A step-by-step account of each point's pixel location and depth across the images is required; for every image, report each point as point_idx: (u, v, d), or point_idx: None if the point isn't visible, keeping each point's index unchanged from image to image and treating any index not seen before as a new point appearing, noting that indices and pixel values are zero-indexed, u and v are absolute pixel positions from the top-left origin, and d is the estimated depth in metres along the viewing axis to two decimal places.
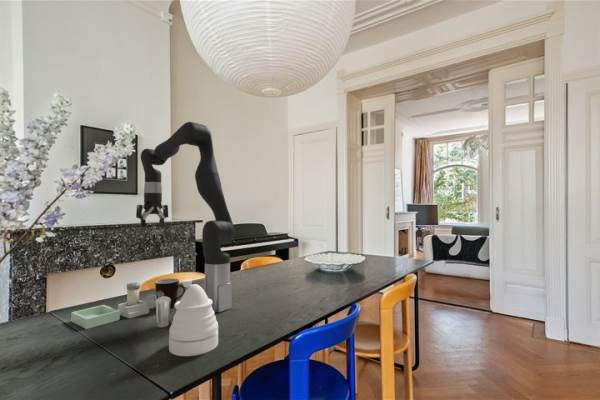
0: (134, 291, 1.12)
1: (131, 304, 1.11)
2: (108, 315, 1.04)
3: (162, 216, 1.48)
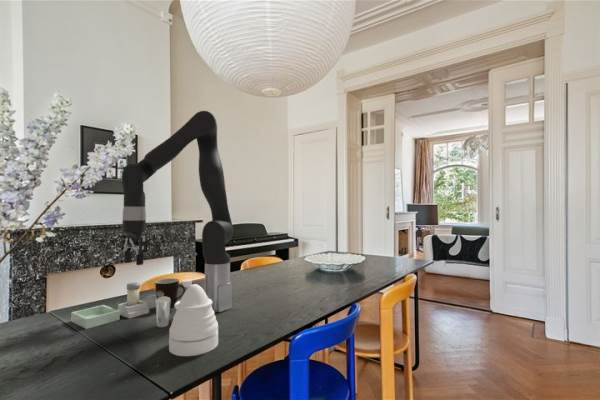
0: (134, 291, 1.12)
1: (131, 304, 1.11)
2: (108, 315, 1.04)
3: (131, 248, 1.17)
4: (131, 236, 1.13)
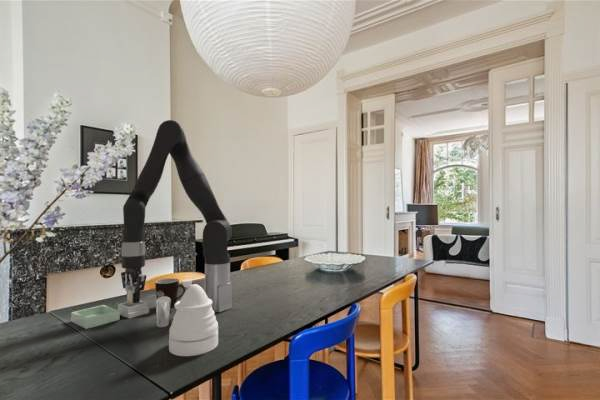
0: None
1: (131, 304, 1.11)
2: (108, 315, 1.04)
3: None
4: (130, 271, 1.12)
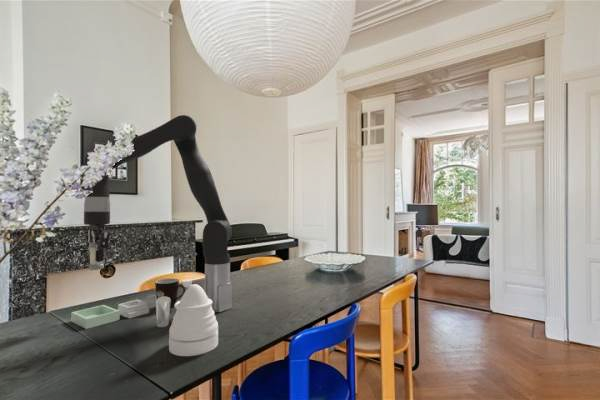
0: None
1: (94, 263, 1.05)
2: (108, 315, 1.04)
3: None
4: (93, 228, 1.06)
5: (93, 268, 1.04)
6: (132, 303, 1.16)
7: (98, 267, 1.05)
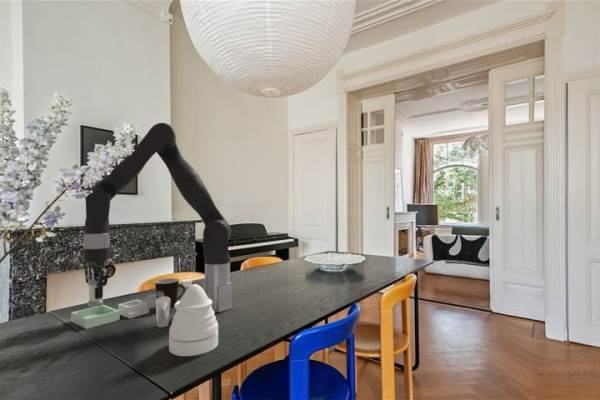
0: None
1: (93, 300, 1.04)
2: (108, 315, 1.04)
3: None
4: (93, 265, 1.05)
5: (92, 305, 1.04)
6: (132, 303, 1.16)
7: (97, 304, 1.05)
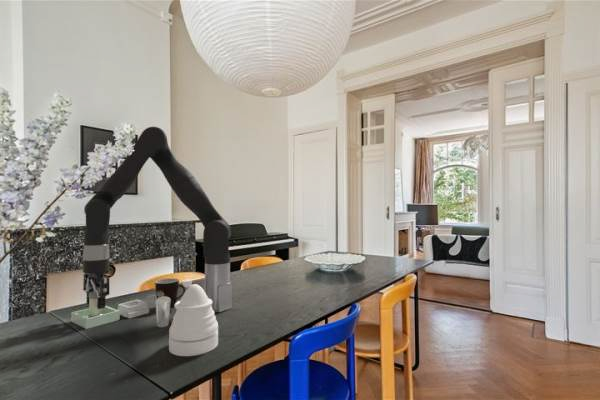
0: (96, 299, 1.05)
1: (93, 314, 1.04)
2: (108, 315, 1.04)
3: None
4: (93, 277, 1.05)
5: None
6: (132, 303, 1.16)
7: None
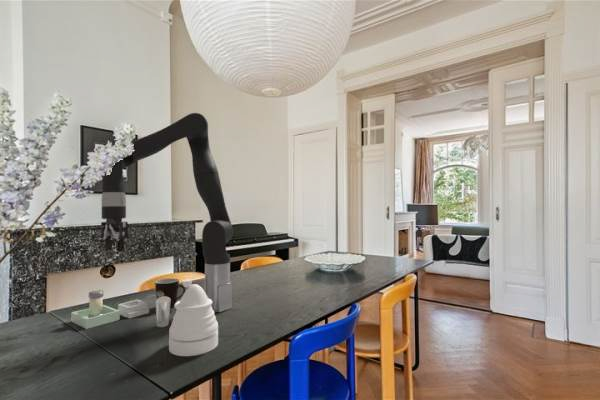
0: (96, 299, 1.04)
1: (93, 314, 1.04)
2: (108, 315, 1.04)
3: (111, 236, 1.15)
4: (111, 223, 1.11)
5: None
6: (132, 303, 1.16)
7: None
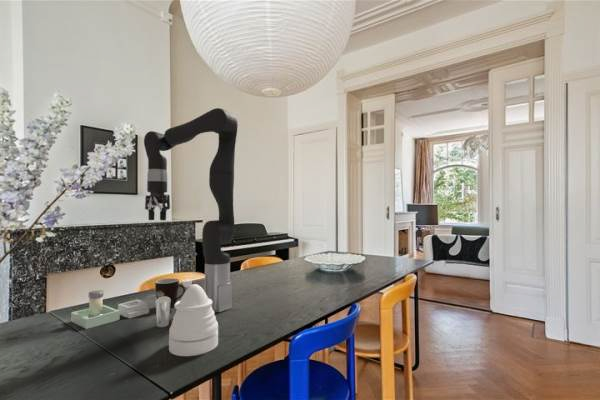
0: (96, 299, 1.04)
1: (93, 314, 1.04)
2: (108, 315, 1.04)
3: (154, 208, 1.32)
4: (155, 195, 1.28)
5: None
6: (132, 303, 1.16)
7: None
